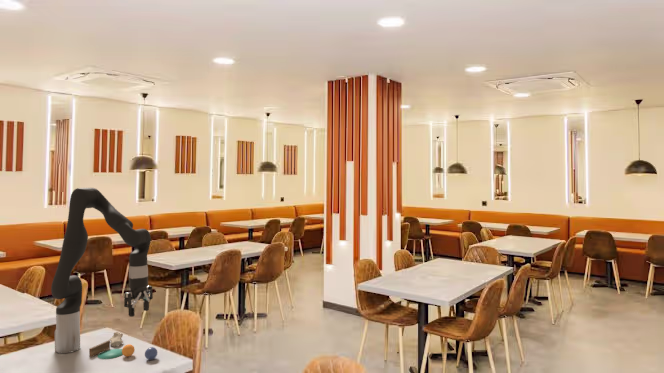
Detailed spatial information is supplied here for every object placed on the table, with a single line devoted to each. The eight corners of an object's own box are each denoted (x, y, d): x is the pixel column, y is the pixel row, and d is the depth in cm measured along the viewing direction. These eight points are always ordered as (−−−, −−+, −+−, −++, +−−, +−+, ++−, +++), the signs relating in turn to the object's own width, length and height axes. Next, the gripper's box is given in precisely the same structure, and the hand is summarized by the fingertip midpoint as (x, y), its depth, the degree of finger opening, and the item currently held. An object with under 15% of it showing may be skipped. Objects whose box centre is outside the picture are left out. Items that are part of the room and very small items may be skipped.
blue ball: (142, 360, 181) (142, 349, 181) (150, 356, 186) (150, 344, 186) (151, 362, 180) (151, 350, 180) (160, 357, 184) (159, 346, 184)
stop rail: (89, 356, 186) (89, 348, 186) (107, 348, 196) (107, 340, 196) (91, 356, 186) (91, 348, 186) (109, 348, 195) (109, 340, 195)
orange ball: (119, 357, 185) (119, 346, 185) (127, 353, 189) (127, 342, 189) (128, 359, 183) (128, 347, 183) (137, 354, 188) (137, 343, 188)
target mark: (91, 357, 185) (91, 357, 185) (111, 348, 196) (111, 347, 196) (111, 360, 182) (111, 359, 182) (131, 350, 192) (131, 350, 192)
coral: (112, 348, 196) (112, 338, 196) (106, 342, 204) (106, 333, 204) (125, 345, 200) (125, 335, 200) (119, 339, 208) (119, 330, 208)
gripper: (143, 272, 192) (143, 308, 192) (118, 278, 178) (119, 317, 178) (157, 272, 190) (157, 309, 190) (133, 279, 176) (134, 319, 176)
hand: (139, 313), depth 184 cm, fingers open, 8 cm apart
